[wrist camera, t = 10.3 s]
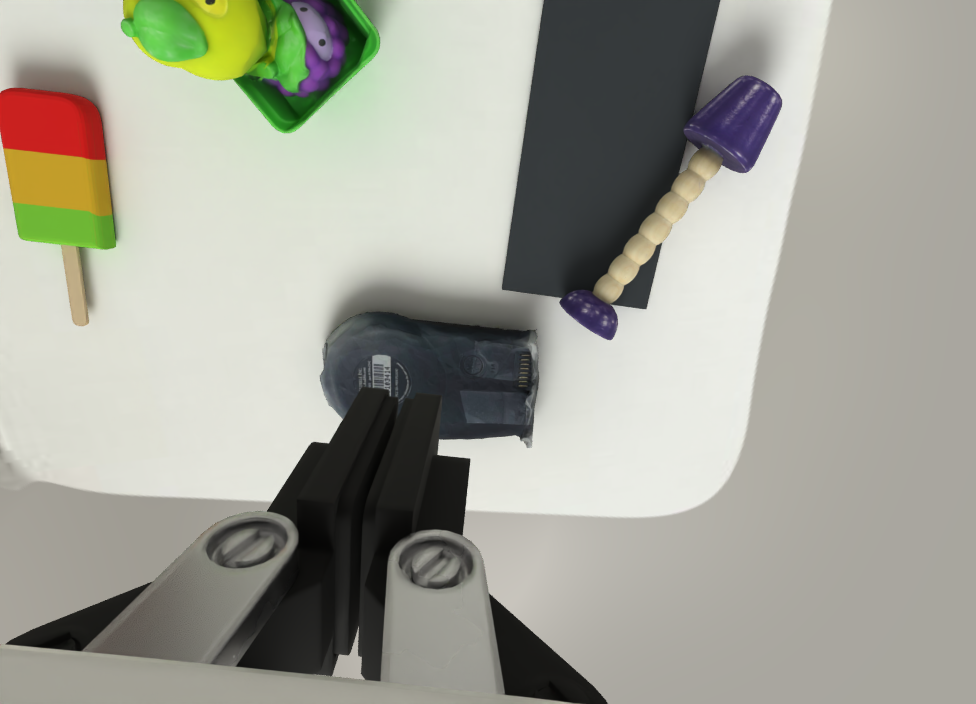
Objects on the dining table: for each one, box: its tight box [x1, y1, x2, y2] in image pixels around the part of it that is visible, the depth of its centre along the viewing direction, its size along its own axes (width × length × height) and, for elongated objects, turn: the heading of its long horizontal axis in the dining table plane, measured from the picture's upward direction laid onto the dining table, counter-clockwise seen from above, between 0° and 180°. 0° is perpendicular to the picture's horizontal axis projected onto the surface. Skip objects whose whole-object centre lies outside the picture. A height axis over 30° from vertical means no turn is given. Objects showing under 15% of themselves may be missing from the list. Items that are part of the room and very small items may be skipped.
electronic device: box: [320, 312, 539, 448], centre depth 39 cm, size 9×6×15 cm
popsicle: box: [0, 88, 116, 326], centre depth 36 cm, size 6×15×2 cm, turn 174°
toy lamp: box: [559, 76, 782, 340], centre depth 34 cm, size 5×5×17 cm
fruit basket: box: [121, 0, 380, 133], centre depth 28 cm, size 11×9×11 cm
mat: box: [502, 0, 720, 309], centre depth 35 cm, size 20×10×1 cm, turn 172°
